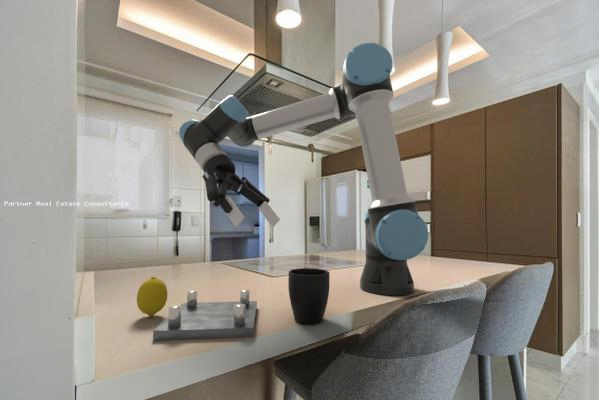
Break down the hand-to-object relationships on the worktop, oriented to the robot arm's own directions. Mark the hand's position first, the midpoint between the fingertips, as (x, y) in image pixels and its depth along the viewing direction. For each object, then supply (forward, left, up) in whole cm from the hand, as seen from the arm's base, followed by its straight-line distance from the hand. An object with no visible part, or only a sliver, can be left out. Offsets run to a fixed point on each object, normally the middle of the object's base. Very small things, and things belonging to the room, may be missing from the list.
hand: (260, 222), depth 65 cm
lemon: (+21, +4, -19) cm, 29 cm away
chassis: (+8, +8, -19) cm, 22 cm away
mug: (-10, +7, -19) cm, 23 cm away
